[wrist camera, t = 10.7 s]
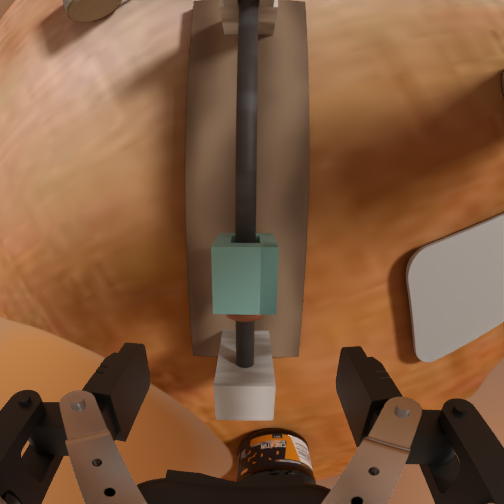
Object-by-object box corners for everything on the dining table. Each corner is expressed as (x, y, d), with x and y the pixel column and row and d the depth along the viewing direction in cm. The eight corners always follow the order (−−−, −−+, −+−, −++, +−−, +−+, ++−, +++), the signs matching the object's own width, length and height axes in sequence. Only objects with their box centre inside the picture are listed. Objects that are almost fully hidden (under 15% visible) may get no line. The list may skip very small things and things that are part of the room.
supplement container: (313, 424, 38) (329, 489, 27) (301, 466, 41) (310, 524, 29) (239, 423, 38) (236, 490, 27) (235, 465, 41) (233, 525, 29)
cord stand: (302, 8, 26) (322, -51, 15) (296, 353, 36) (312, 418, 24) (196, 7, 26) (176, -52, 15) (195, 352, 35) (177, 416, 24)
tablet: (529, 293, 35) (538, 297, 33) (409, 360, 37) (416, 369, 35) (527, 197, 32) (537, 199, 29) (395, 251, 33) (404, 255, 31)
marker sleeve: (272, 233, 27) (278, 247, 21) (271, 288, 28) (276, 314, 22) (219, 232, 27) (211, 246, 21) (219, 288, 28) (213, 313, 22)
